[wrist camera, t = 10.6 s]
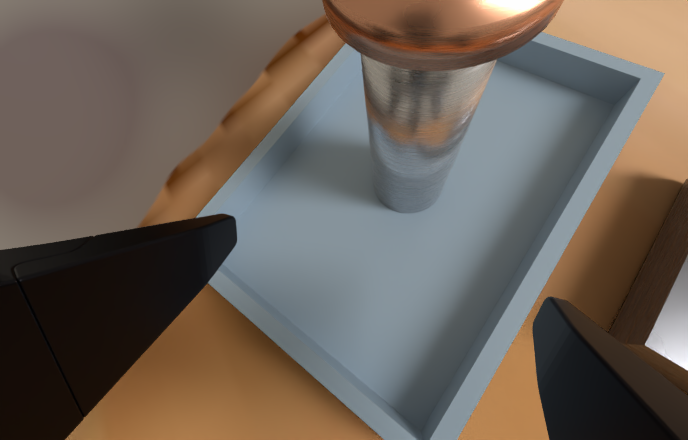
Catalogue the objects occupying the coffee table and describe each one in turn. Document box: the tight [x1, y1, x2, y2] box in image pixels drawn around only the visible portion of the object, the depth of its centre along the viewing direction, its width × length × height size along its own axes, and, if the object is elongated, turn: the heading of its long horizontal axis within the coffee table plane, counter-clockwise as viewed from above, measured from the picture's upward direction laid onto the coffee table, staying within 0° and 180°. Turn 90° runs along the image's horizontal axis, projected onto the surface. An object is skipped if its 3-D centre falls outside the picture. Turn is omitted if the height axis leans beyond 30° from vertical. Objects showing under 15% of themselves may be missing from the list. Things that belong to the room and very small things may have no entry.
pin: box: [322, 0, 564, 213], centre depth 12 cm, size 6×6×12 cm
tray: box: [196, 32, 665, 440], centre depth 17 cm, size 22×16×3 cm
